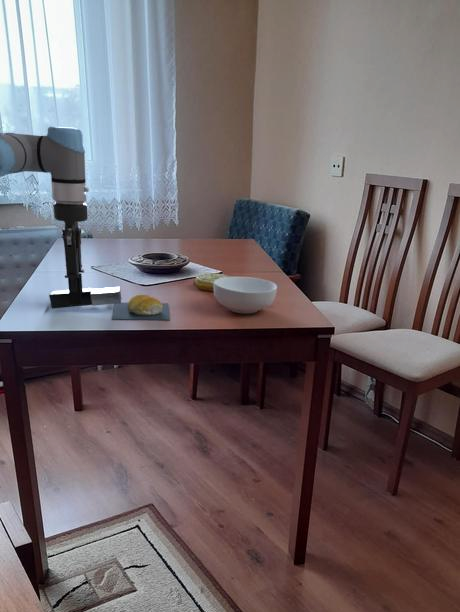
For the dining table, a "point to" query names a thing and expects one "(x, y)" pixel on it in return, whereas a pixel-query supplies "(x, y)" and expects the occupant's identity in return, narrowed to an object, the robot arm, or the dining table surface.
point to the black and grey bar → (86, 297)
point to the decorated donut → (207, 280)
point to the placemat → (124, 314)
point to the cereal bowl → (244, 293)
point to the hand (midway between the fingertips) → (76, 301)
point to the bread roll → (144, 305)
